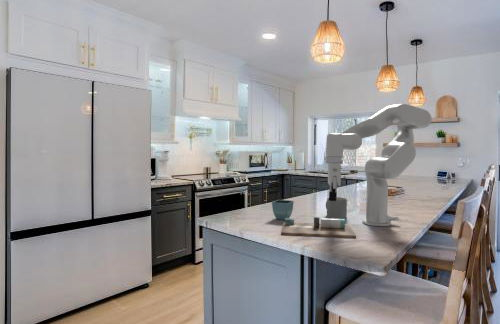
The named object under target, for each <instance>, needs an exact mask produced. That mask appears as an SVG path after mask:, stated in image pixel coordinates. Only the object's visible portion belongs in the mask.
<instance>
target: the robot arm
mask: <svg viewBox="0 0 500 324" xmlns="http://www.w3.org/2000/svg"><path fill="white" fill-rule="evenodd" d="M432 121H433V119H432V115H431V113H430V112H429V111H428V110H426V109H424V108H420V107H418V106H414V105H411V104H407V103H399V104H392V105H391V104H390V105H387V106H385V107H384V108H382V109H381V110H379V111H378V112H376V113H375V114H373V115H372V116H370V117H368V118H366V119H365V120H363V121H361V122H358V123H356V124H355V125H352V126H350V127H348V128H346V129H345V130H343V131H342V132H340V133H339V132H338V133H337V132H335V133H334V132H331V133H327V135H326V144H325V145H326V146H325V164H327V184H328V185H329V192H328V198H329V201H336V200H337V197H338V195H337V194H338V192H337V190H338V189H337V188H338V187H341V185H342V183H341V182H342V181H341V179H342V176H341V175H342V173H341V172H342V169H341V168H342V167H341V166H342V165H343V162H344V151H354V150H357V149H359V148H361V147H362V145H363V139H366V138H369V137H373V136H375V135H379V134H380V133H382V132H384V130H386V129H387V128H389V127H390V126H392V125H393V124H396V126H397V133H396V134H395V136H394V137H393V138H392V139H391V140H390V141H389V142H388V143H387V144H386V145H385V146H384V147H383V149H382V150H381V157H372V158H370V159H368V160H367V161H366V163H365V166H364V172H365V178H366V179H365V181H366V193H365V194H366V197H365V200H366V201H365V202H366V203H365V204H366V205H365V206H366V207H365V208H366V209H365V218H364V219H362V223H363V224H365V225H368V226H371V227H372V226H373V227H389V226H391V225H392V221H395V222H399V217H398V216H394V215H389V214H388V211H389V210H388V209H389V208H388V207H389V205H388V203H389V200H388V199H389V185H388V181H387V180H394V179H397V178H399V176H401V175H402V174H403V172H404V171H405V170H406V169H408V167H409V166H410V165H411V164H412V163H413V162H414V161H415V158H416V155H417V152H416V151H417V150H416V147H415V146H414V145H413V144H414V141H415V136H414V130H417V129H425V128H427V127H429V126H430V125H431V123H432Z"/></svg>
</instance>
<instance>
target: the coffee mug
mask: <svg viewBox="0 0 500 324" xmlns="http://www.w3.org/2000/svg"><path fill="white" fill-rule="evenodd" d="M325 209H326V218H331V219H345V220H347V217H348V216H347V215H348V211H347V209H348V199H347V198H346V197H342V196H341V197H340V196H337V200H336V201H329V197H327V198H326V202H325Z"/></svg>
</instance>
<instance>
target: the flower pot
mask: <svg viewBox="0 0 500 324" xmlns="http://www.w3.org/2000/svg"><path fill="white" fill-rule="evenodd" d="M271 207H272V212H273V216H274V218H276V220H284V221H285V218H290V217H291V215H292V213H293V209H294V200H285V199H277V200H274V201H271Z"/></svg>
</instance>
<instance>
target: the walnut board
mask: <svg viewBox="0 0 500 324" xmlns="http://www.w3.org/2000/svg"><path fill="white" fill-rule="evenodd" d="M280 233H281V234H280V235H281V236H301V237H323V238H324V237H325V238H346V239H356V238H357V234H356V233H355V231H354V230H353V229H352V227H351V226H350V224H345V228H326V227H321V223H320V217H318V216H314V217H313V223H310V222H309V223H308V222H307V223H306V222H295V218H292V217H291V218H290V217H289V218H285V220H284V222H283V223H282V228H281V231H280Z"/></svg>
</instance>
